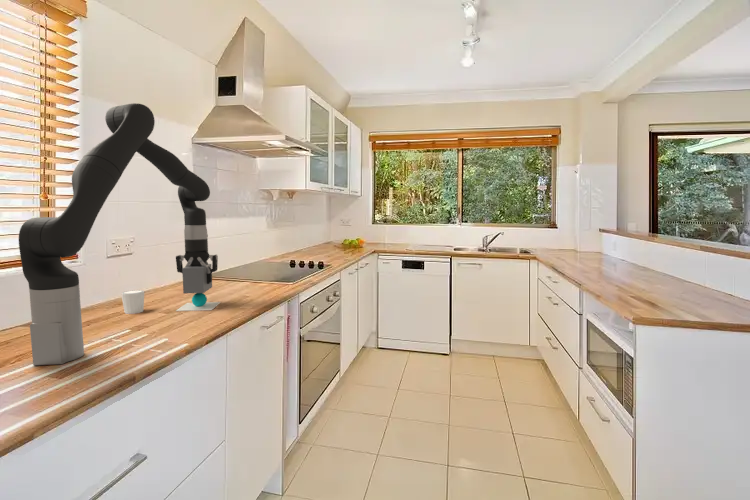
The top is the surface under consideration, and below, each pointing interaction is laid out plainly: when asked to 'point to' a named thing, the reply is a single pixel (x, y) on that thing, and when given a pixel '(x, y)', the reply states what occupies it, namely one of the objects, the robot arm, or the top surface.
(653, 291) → the top surface
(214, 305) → the white square plate
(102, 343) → the top surface
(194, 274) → the grey rectangular block
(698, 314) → the top surface
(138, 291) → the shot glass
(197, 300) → the ball
